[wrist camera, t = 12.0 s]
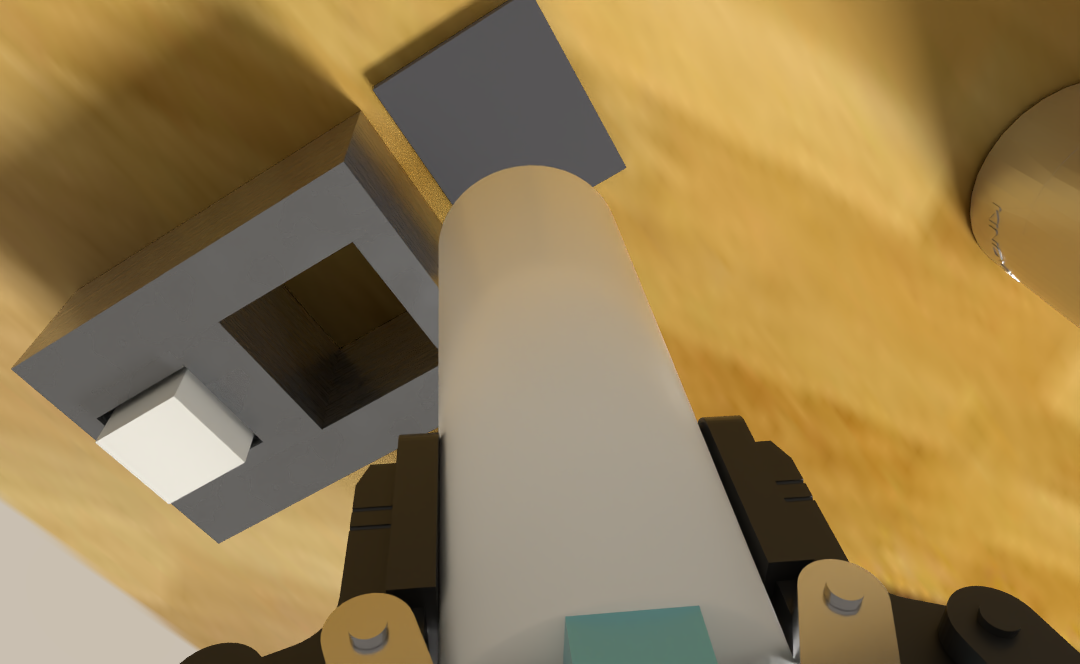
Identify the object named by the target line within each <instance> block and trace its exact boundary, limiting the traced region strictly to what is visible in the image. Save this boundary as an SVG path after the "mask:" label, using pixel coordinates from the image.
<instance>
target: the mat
mask: <svg viewBox="0 0 1080 664" xmlns="http://www.w3.org/2000/svg"><path fill="white" fill-rule="evenodd" d="M373 91H374V92H375V94H376V95H377V97H378V98H379V100H380V101H381V102H382V104H383V105H384V107H385V108H386V110H387V111H388V113H389V114H390V115H391V117H392V118H393V120H394V121H395V123H396V124H397V125H398V127H399V128H400V130H401V131H402V133H403V134H404V136H405V137H406V138H407V140H408V141H409V143H410V144H411V146H412V147H413V149H414V150H415V151H416V153H417V154H418V156H419V157H420V159H421V160H422V162H423V163H424V164H425V166H426V167H427V169H428V170H429V172H430V173H431V174H432V176H433V177H434V179H435V180H436V182H437V183H438V185H439V186H440V187H441V189H442V190H443V192H444V193H445V195H446V196H447V198H448V199H449V200H450V202H451V203H452V205H453V204H454V203H455V202H456V200H457V199H458V198H459V197H460V196H461V195H462V194H463V193H464V192H465V191H466V190H467V189H468V188H469V187H471V186H472V185H473V184H475V183H476V182H478V181H479V180H481V179H482V178H484V177H486V176H488V175H490V174H492V173H495V172H498V171H501V170H504V169H508V168H512V167H517V166H527V165H535V166H547V167H553V168H557V169H560V170H564V171H567V172H569V173H571V174H573V175H576V176H577V177H579V178H581V179H582V180H584V181H586V182H587V183H588V184H589V185H591V186H592V187H594V186H595V185H597V184H599V183H601V182H602V181H604V180H606V179H608V178H609V177H611V176H613V175H615V174H616V173H618V172H620V171H622V170H623V169H625V168H626V166H625V164H624V162H623V160H622V159H621V157H620V155H619V153H618V151H617V149H616V147H615V146H614V144H613V142H612V140H611V138H610V136H609V135H608V133H607V131H606V129H605V127H604V125H603V124H602V122H601V120H600V118H599V116H598V114H597V112H596V111H595V109H594V107H593V105H592V103H591V101H590V100H589V98H588V96H587V94H586V92H585V90H584V89H583V87H582V85H581V83H580V81H579V79H578V78H577V76H576V74H575V72H574V70H573V68H572V66H571V65H570V63H569V61H568V59H567V57H566V55H565V54H564V52H563V50H562V48H561V46H560V44H559V43H558V41H557V39H556V37H555V35H554V33H553V32H552V30H551V28H550V26H549V24H548V22H547V20H546V19H545V17H544V15H543V13H542V11H541V9H540V8H539V6H538V4H537V2H536V0H508V1H506V2H505V3H503V4H502V5H500V6H499V7H497V8H495V9H494V10H492V11H491V12H489V13H488V14H486V15H485V16H483V17H481V18H480V19H478V20H477V21H475V22H474V23H472V24H470V25H469V26H467V27H466V28H464V29H463V30H461V31H460V32H458V33H456V34H455V35H453V36H452V37H450V38H449V39H447V40H445V41H444V42H442V43H441V44H439V45H438V46H436V47H435V48H433V49H431V50H430V51H428V52H427V53H425V54H424V55H422V56H420V57H419V58H417V59H416V60H414V61H413V62H411V63H410V64H408V65H406V66H405V67H403V68H402V69H400V70H399V71H397V72H395V73H394V74H392V75H391V76H389V77H388V78H386V79H385V80H383V81H381V82H380V83H378V84H377V85H375V86H374V88H373Z"/></svg>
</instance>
